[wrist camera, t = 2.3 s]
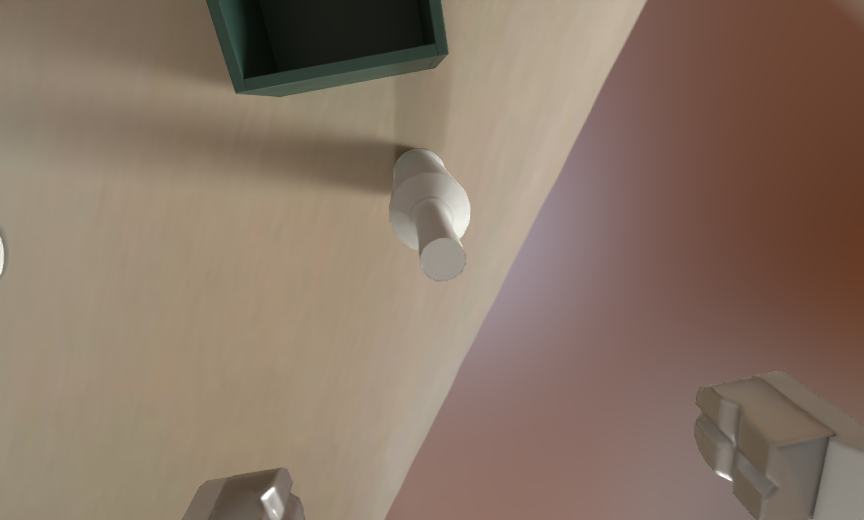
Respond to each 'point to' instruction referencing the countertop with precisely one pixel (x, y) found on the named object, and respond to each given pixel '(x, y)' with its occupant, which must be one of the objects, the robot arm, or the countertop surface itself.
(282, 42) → the bin
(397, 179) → the bottle
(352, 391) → the countertop surface
